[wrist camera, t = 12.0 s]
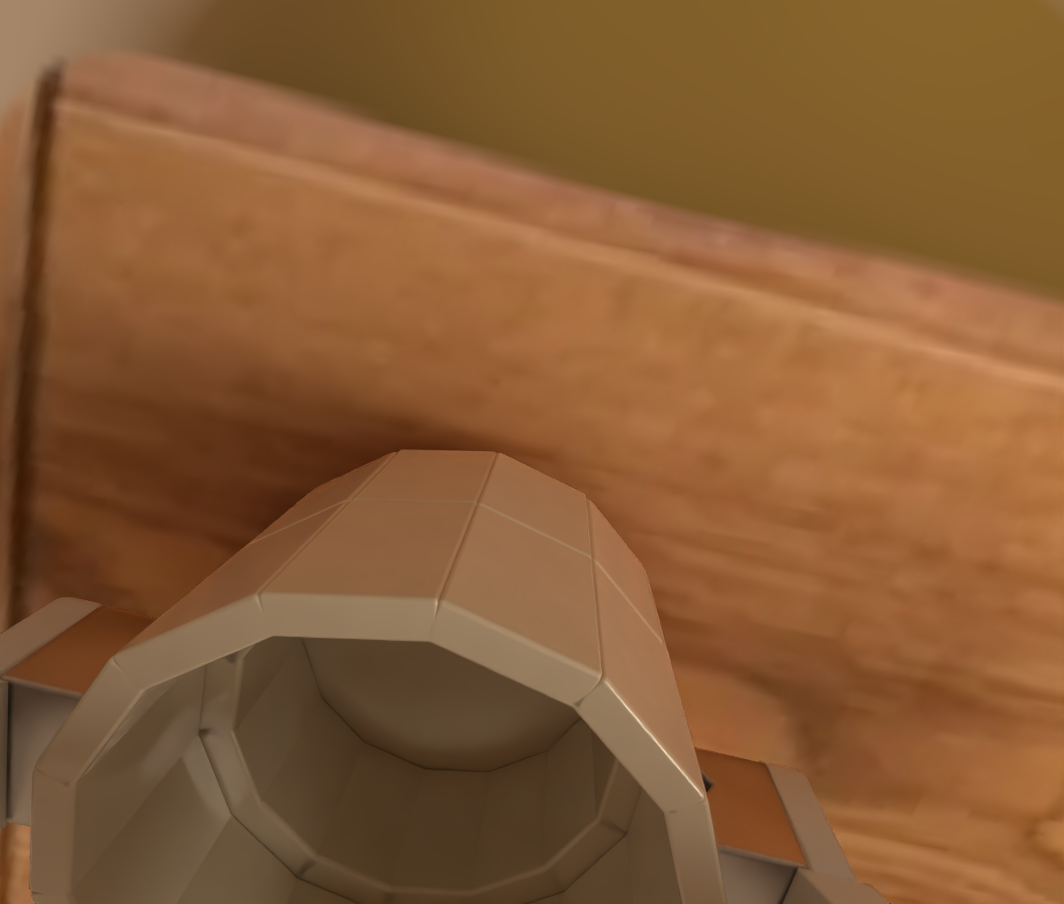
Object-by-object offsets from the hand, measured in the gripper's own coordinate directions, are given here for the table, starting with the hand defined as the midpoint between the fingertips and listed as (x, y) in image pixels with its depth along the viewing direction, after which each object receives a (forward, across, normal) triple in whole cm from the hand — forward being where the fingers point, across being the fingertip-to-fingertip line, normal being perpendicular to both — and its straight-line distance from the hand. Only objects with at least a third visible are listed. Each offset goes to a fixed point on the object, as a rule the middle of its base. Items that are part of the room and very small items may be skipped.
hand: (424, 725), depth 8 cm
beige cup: (+2, 0, 0) cm, 2 cm away
